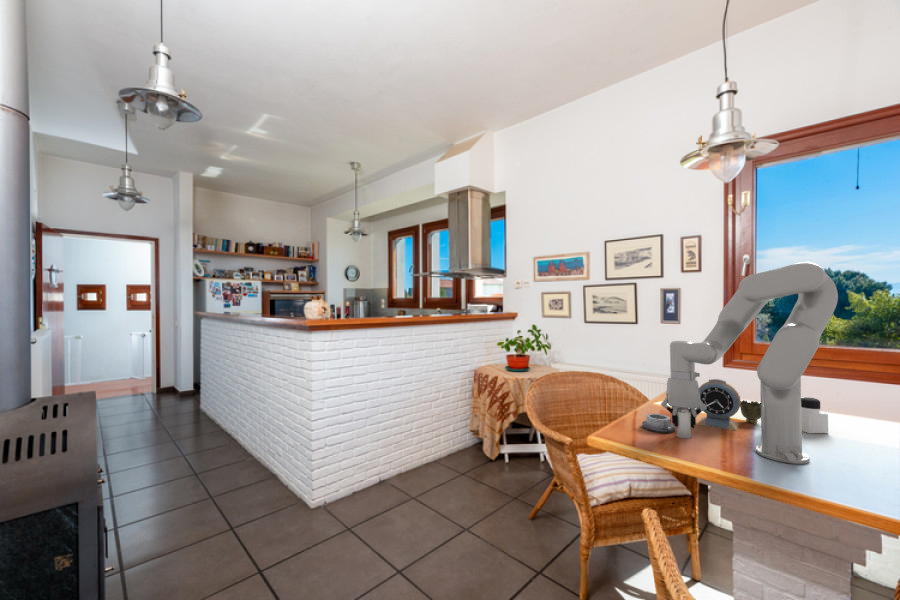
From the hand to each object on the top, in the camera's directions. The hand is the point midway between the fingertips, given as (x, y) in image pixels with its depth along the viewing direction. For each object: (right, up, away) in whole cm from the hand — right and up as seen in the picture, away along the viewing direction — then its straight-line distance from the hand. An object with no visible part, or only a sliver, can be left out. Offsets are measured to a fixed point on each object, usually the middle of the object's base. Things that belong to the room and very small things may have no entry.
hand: (683, 425), depth 136 cm
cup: (+36, -4, +14) cm, 39 cm away
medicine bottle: (+49, -3, +4) cm, 49 cm away
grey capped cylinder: (0, -4, 0) cm, 4 cm away
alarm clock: (+21, -4, +13) cm, 25 cm away
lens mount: (-4, -4, +9) cm, 11 cm away
